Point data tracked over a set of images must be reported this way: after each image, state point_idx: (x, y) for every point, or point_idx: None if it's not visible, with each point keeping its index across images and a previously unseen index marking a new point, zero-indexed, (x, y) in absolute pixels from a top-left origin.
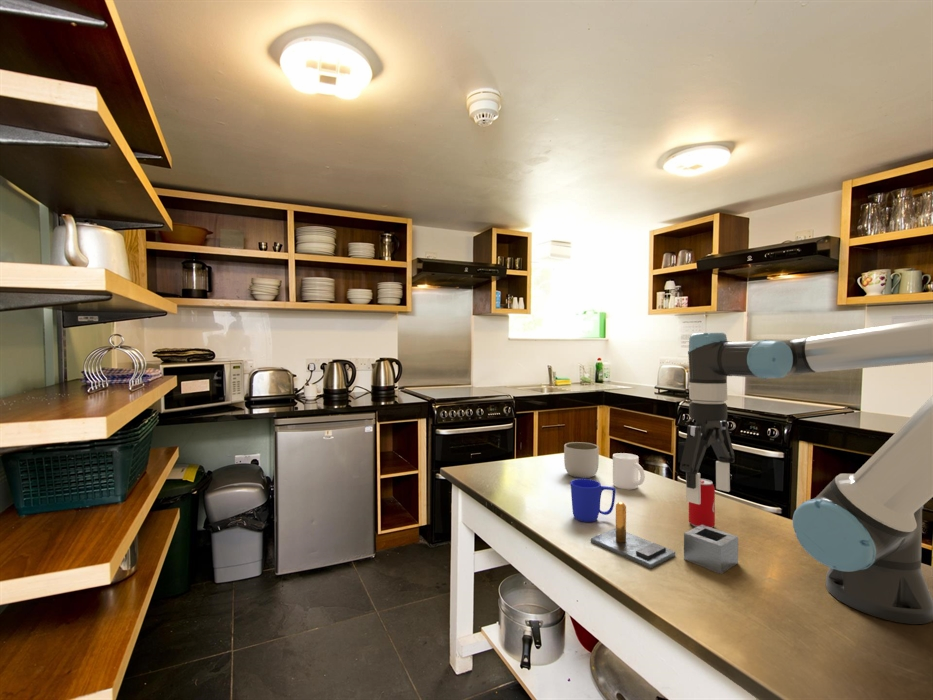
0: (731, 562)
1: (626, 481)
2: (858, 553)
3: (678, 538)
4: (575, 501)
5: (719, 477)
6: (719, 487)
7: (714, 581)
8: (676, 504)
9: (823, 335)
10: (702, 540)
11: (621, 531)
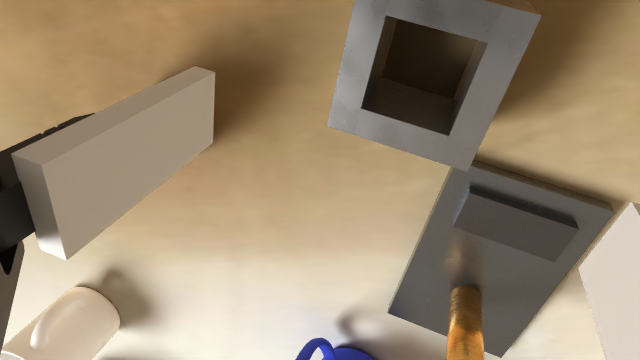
0: None
1: (98, 321)
2: None
3: (315, 164)
4: None
5: (162, 161)
6: (205, 130)
7: (609, 6)
8: None
9: None
10: (500, 98)
11: (482, 321)
